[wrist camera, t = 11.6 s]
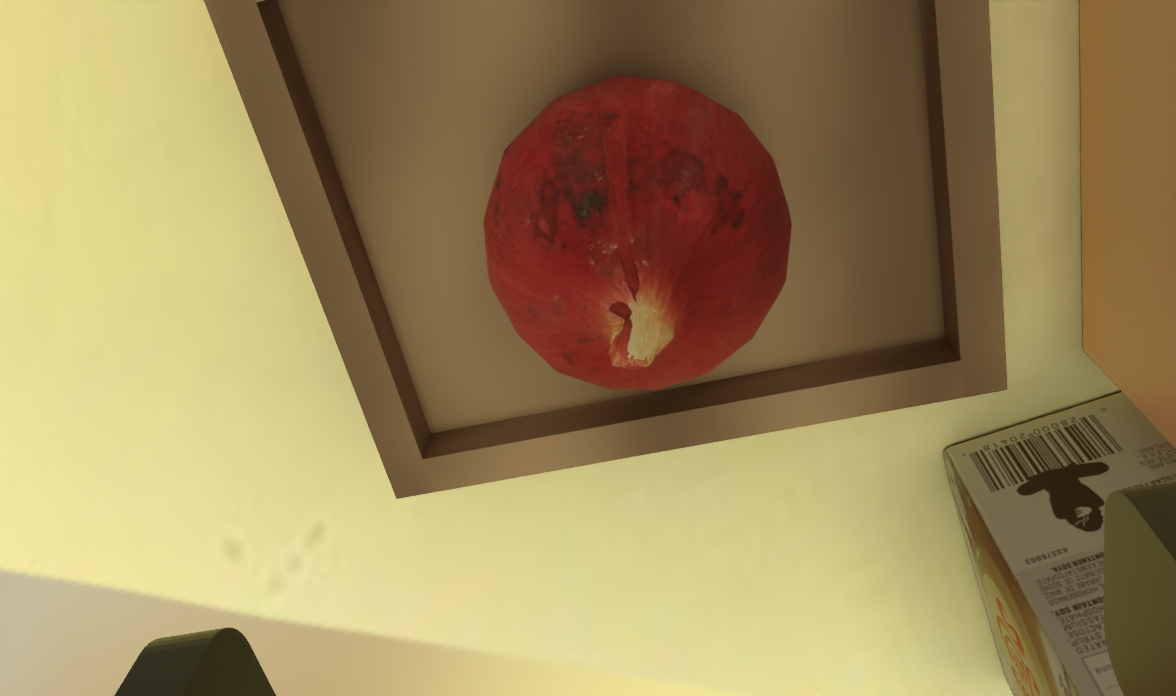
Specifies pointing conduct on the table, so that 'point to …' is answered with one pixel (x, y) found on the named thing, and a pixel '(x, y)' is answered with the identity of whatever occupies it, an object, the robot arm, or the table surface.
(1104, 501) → the coffee box
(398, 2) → the walnut tray
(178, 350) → the table surface
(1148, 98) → the open pink storage bin
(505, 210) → the onion
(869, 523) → the table surface
